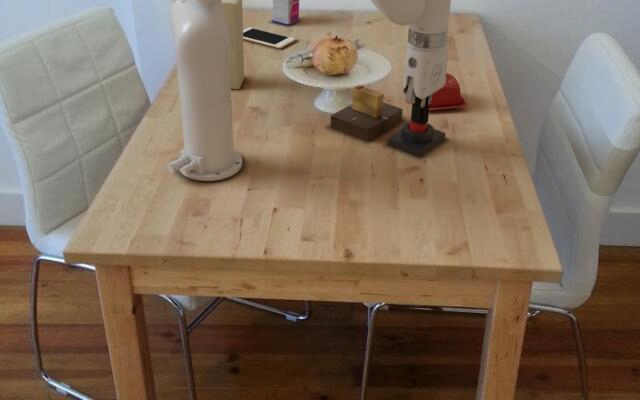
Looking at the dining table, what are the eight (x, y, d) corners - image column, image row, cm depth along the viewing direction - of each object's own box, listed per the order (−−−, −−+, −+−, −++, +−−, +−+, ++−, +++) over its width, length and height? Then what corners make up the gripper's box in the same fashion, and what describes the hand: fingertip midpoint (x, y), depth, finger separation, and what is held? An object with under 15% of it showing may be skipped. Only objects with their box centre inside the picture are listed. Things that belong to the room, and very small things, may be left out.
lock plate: (369, 142, 157) (369, 129, 155) (329, 127, 162) (329, 114, 160) (402, 121, 165) (404, 108, 163) (363, 107, 171) (364, 95, 169)
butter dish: (421, 115, 168) (424, 80, 163) (406, 94, 178) (409, 60, 173) (469, 111, 170) (473, 77, 166) (451, 90, 180) (455, 57, 175)
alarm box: (419, 157, 152) (421, 142, 150) (387, 145, 156) (388, 130, 154) (444, 140, 158) (446, 125, 156) (413, 128, 162) (414, 114, 160)
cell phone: (280, 49, 200) (280, 46, 200) (232, 36, 207) (232, 34, 207) (296, 40, 206) (296, 38, 205) (249, 28, 213) (249, 26, 212)
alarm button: (420, 135, 153) (421, 127, 152) (405, 130, 155) (406, 122, 154) (429, 129, 156) (430, 121, 155) (415, 124, 157) (415, 116, 156)
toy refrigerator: (245, 77, 184) (242, -7, 173) (240, 89, 178) (236, 3, 166) (214, 75, 184) (209, -9, 173) (207, 87, 178) (201, 1, 167)
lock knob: (382, 114, 161) (383, 92, 158) (376, 118, 160) (377, 95, 157) (358, 106, 164) (359, 84, 162) (352, 109, 163) (353, 87, 160)
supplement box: (288, 26, 216) (288, -13, 209) (272, 22, 218) (271, -17, 212) (299, 21, 220) (300, -18, 214) (283, 17, 222) (283, -22, 216)
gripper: (423, 52, 137) (415, 140, 147) (463, 31, 147) (453, 114, 157) (389, 43, 141) (384, 128, 151) (430, 22, 151) (423, 104, 161)
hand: (419, 121), depth 154 cm, fingers closed
